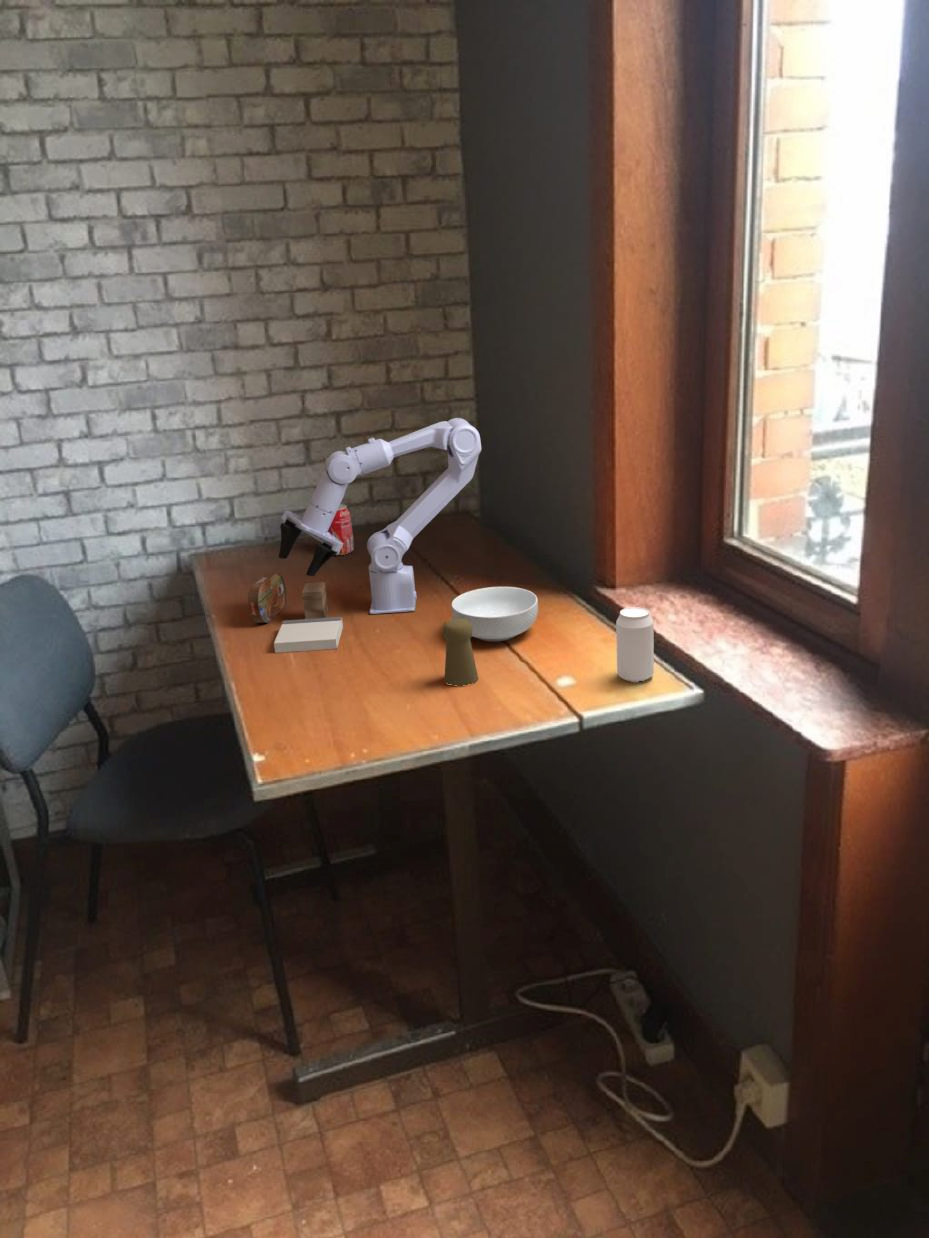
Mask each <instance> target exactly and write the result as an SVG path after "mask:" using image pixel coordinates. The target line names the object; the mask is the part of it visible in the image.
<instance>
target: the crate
mask: <svg viewBox="0 0 929 1238" xmlns="http://www.w3.org/2000/svg"><path fill="white" fill-rule="evenodd" d="M325 582H326V581H324V582H322V581H321V582H320V581H319V582H310V583H309V582H307V583H305V584H304V587H303V590H302V592H301V595H302V596H301V599H302V603H303V605H302V606H303V611H304V619H316V618H328V616H329V608H328V606H329V605H328V599H327V598H328V597H327V588H326V583H325Z"/></svg>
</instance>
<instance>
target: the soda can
mask: <svg viewBox="0 0 929 1238" xmlns="http://www.w3.org/2000/svg"><path fill="white" fill-rule="evenodd" d="M347 507H348V505H346V504H345V503H340V505H339V507H338V510H337V512H336V514H335V516H334V518H333V521H332V523H331V525H330V527H329V529H328V532H329V533H330V534H331V535H332V536H334V537H335V538H336V539H338V540H339V541H340V542H342V543H343V546H342V548H341V550H340V552H337V553H336V554H335V555H344V556H346V555H345V554H347V555H349V554H351V552H353V550H354V534H353V525H352V518H351V513H350V511H349V509H348V508H347ZM348 553H349V554H348Z"/></svg>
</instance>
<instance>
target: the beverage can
mask: <svg viewBox="0 0 929 1238" xmlns="http://www.w3.org/2000/svg"><path fill="white" fill-rule="evenodd" d="M615 625H616V627H615V629H616V631H615V634H616V670H617V671H616V672H617V675H618V677H619V678H620V679H622V680H624V679H625V680H627V681H626V682H628V681H631V682H630V683H640V682H639V681H643V682H645V681H644V680H646V679H647V680H648V679H650V678H652V676H653V675H654V672H655V668H654V666H655V665H654V664H655V661H654V660H655V659H654V658H655V657H654V656H655V655H654V651H655V650H654V647H655V646H654V641H655V640H654V638H655V637H654V636H655V635H654V634H655V633H654V632H655V631H654V629H655V628H654V620H653V618H652V616H651V614H650V610H649V609H648V608H645V607H638V606H631V607H625V608H623V609H621V610H620V611H619V615H618V618H617V619H616V622H615ZM625 680H624V681H625ZM647 680H646V681H647Z"/></svg>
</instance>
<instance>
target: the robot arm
mask: <svg viewBox="0 0 929 1238" xmlns="http://www.w3.org/2000/svg"><path fill="white" fill-rule="evenodd" d="M480 436H481V435H480V433H479V431H478V429H476V428H475V427H474V426H472V425H471V424H470V423H469V422H468V421H467V420H466V419H464V418H461V417H456V418H455V417H454V418H451V419H449V420H448V421H446V420H444V421H439V422H437V423H433V424H431V425H428V426H426V427H423V428H420V429H419V430H416V431H414V432H411V433H408V434H405V435H404V436H400V437H398V438H395V439H393V440H391V441H386V440H384V439H381V438H377V439H375V438H374V437H370V438H368V440H367V442H366V443H364V444H360V445H357V446H355V447H352V448H351V446H347V447H346V448H345V451H342V450H338V451H335V452H333V453H331V454H329V456H328V458H326V459H325V462H324V463H325V464H324V465H325V470H324V471H323V473H322V475H321V479H320V480H319V481H318V482H317V485H316V488H315V490H314V492H313V494H312V497H311V499H310V500H309V503H308V505H307V507H306V509H305V512H304V514H303V517H302V516H300V515H298V514H296V513H294V512H292V511H291V510H284V512H283V514H282V517H281V520H283V521H284V522H281V523H280V525H279V526H280V546H279V547H280V548H279V553H278V554H279V555H278V558H279V559H284V560H285V559H287V558H288V557H289V555H290V552H291V551H292V549H293V546H294V544H295V542H296V541H297V539H298V538H299V536H300V535H301V534H302V532H304V533H306V535H309V536H311V537H312V538H314V539H315V540H317V541H319V542H321V543H316V544H315V546H314V547H315V549H314V553H313V556H312V559H311V561H310V565H309V566H308V569H307V571H306V575H307V576H308V577H314V576H316V574H317V573H318V572H319V570H320V569H321V568H322V566H324V564H325V563H326V562H328V561H329V560H330V559H332V558H333V557H335V556H334V555H335V554H336V553H337V552H340V550H341V548H342V546H343V543H342V542H340V541H339V540H338V539H336V538H335V537H334V536H332V535H331V534H330V533H329V532H328V529H329V527H330V525H331V523H332V521H333V518H334V516H335V514H336V512H337V510H338V507H339V505H340V504H342V501H343V499H344V496H345V495H346V490H347V488H348V486H349V484H351V483H353V481H354V480H355V479H356V478H357V476H363V475H367V474H369V473H372V472H375V471H377V470H381V469H383V468H387V467H389V466H390V465H391V463H392V462H393V459H394V458H397V457H399V456H402V455H406V454H410V453H412V452H415V451H419V450H422V449H426V448H430V447H432V448H437V449H441V450H445V451H447V459H448V460H447V464H448V467H447V469H445V470H444V472H442V474H441V475H440V476H438V478H437V479H436V480H435V481H434V482H433V483H432V484H431V485H429V487H428V488H427V489H426V490H425V491H424V492H423V493H422V494H421V495H420V496H419V497H418V498H417V499H416V500H415V501H414V502H413V503H412V504H411V505H410V506H409V507H408V508H407V509H406V510H405V512H403V513H402V514H401V516H400V517H398V518H397V520H395V521H394V522H391V523H390V524H388V525H387V526H386V527H385V528H383V529H382V530H380V531H377V532H374V533H373V534H372V535H371V536H370V537H369V538H368V540H367V544H366V548H367V549H366V550H367V552H368V554H369V556H370V559H371V561H370V564H369V565H368V573H369V584H370V593H371V594H370V595H371V604H370V607H369V614H370V615H374V614H375V615H376V614H377V615H378V614H390V613H392V614H394V613H405V612H415V611H416V603H417V602H416V601H417V599H418V598H417V596H418V595H417V591H416V587H415V586H416V585H415V575H414V568H413V565H405V564H404V563H403V561H402V558H403V556H404V555H405V553H406V552H407V551H408V550H409V549H410V546H411V545H412V542H413V540H414V538H416V536H417V535H418V534H419V533H420V532H421V531H422V530H423V529H424V528H425V527H426V526H427V525H428V524H429V523H430V522H432V520H433V519H434V518H435V517H436V516H437V515H438V514H439V513H440V512H441V511H442V510H443V509H444V508H445V507H446V506H447V505H448V504H449V503H450V502H451V500H453V498H455V497H456V496H457V495H458V494H459V493H460V491H461V490H463V489H464V487H466V485H468V483H470V481H472V479H473V478H474V475H475V471H476V466H477V462H478V459H479V455H480V454H481V452H482V443H481V437H480Z"/></svg>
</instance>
